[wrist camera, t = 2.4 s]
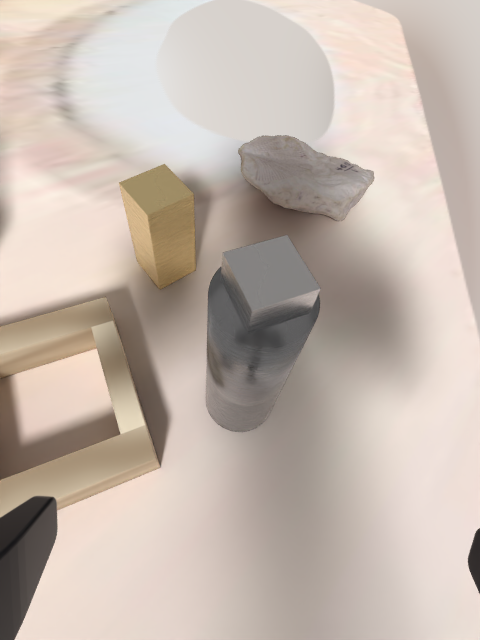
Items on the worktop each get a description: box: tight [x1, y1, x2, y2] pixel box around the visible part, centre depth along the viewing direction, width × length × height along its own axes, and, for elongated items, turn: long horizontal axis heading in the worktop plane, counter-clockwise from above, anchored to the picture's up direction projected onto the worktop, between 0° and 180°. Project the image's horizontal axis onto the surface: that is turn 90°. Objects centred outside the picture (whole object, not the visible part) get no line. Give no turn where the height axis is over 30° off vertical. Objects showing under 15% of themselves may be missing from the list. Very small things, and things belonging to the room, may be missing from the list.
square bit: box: [119, 164, 196, 290], centre depth 25 cm, size 3×3×7 cm
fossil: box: [238, 135, 374, 221], centre depth 31 cm, size 9×6×10 cm
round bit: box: [206, 235, 321, 432], centre depth 18 cm, size 4×4×12 cm
